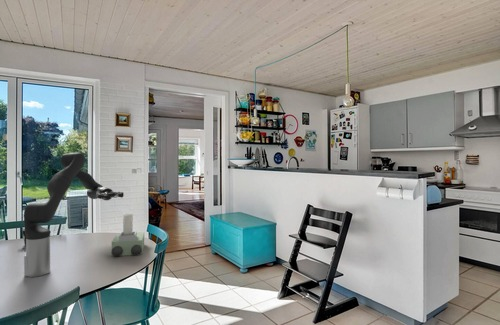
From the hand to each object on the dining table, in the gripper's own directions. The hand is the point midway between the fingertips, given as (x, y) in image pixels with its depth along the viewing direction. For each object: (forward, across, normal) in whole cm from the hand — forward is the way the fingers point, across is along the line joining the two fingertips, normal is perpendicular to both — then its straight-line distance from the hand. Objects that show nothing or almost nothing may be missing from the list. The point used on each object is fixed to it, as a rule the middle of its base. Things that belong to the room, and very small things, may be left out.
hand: (115, 196), depth 174 cm
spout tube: (+10, +4, +24) cm, 26 cm away
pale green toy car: (+6, +6, +32) cm, 33 cm away
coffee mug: (-46, -32, +32) cm, 65 cm away
